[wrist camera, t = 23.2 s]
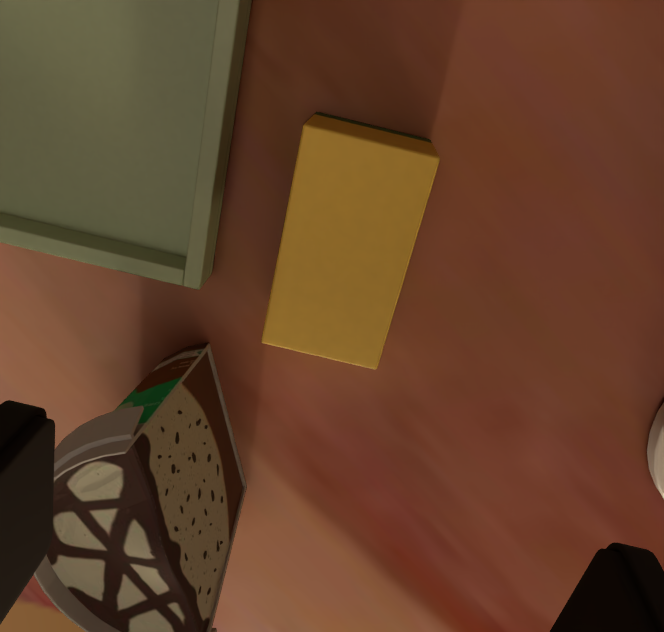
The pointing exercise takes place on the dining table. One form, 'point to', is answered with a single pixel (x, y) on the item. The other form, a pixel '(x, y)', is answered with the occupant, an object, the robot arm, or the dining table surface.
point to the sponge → (347, 238)
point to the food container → (147, 506)
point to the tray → (119, 130)
